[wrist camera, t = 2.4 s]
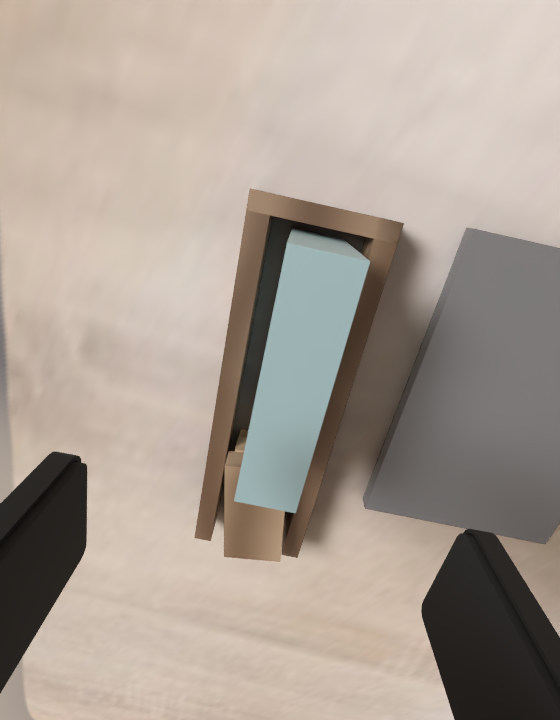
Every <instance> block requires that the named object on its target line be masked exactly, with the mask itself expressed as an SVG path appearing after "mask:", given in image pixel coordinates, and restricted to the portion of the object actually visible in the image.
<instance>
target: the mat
mask: <svg viewBox="0 0 560 720" xmlns="http://www.w3.org/2000/svg"><path fill="white" fill-rule="evenodd" d="M363 502H364V507H365V509H370V510H375V511H380V512H385V513H390V514H395V515H400V516H405V517H410V518H415V519H420V520H425V521H430V522H436V523H441V524H446V525H451V526H456V527H461V528H466V529H474V530H480V531H485V532H491V533H493V534H496V535H501V536H506V537H511V538H516V539H521V540H526V541H531V542H536V543H541V544H546V542H547V541H548V540H549V538H550V537H551V535H552V534H553V532H554V531H555V529H556V528H557V526H558V525H559V523H560V248H556V247H552V246H547V245H543V244H539V243H534V242H530V241H525V240H521V239H517V238H512V237H508V236H503V235H499V234H494V233H490V232H486V231H481V230H477V229H471V228H466V231H465V233H464V236H463V238H462V241H461V244H460V246H459V249H458V251H457V254H456V257H455V259H454V262H453V264H452V267H451V270H450V272H449V275H448V278H447V280H446V283H445V285H444V288H443V291H442V293H441V296H440V298H439V301H438V304H437V306H436V309H435V311H434V314H433V317H432V319H431V322H430V325H429V327H428V330H427V332H426V335H425V338H424V340H423V343H422V345H421V348H420V351H419V353H418V356H417V358H416V361H415V364H414V366H413V369H412V372H411V374H410V377H409V379H408V382H407V385H406V387H405V390H404V392H403V395H402V398H401V400H400V403H399V405H398V408H397V411H396V413H395V416H394V419H393V421H392V424H391V426H390V429H389V432H388V434H387V437H386V439H385V442H384V445H383V447H382V450H381V452H380V455H379V458H378V460H377V463H376V466H375V468H374V471H373V473H372V476H371V479H370V481H369V484H368V486H367V489H366V492H365V494H364V497H363Z"/></svg>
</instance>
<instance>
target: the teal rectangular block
mask: <svg viewBox="0 0 560 720" xmlns="http://www.w3.org/2000/svg"><path fill="white" fill-rule="evenodd" d="M369 264H370V261H369V260H368V259H367V258H366V257H364V256H363V255H362V254H361V253H359V252H358V251H357V250H356V249H355V248H353V247H352V246H351V245H350V244H348V243H347V242H346V241H345V240H344V239H340V238H335V237H331V236H326V235H322V234H317V233H313V232H308V231H304V230H299V229H295V228H292V230H291V233H290V236H289V238H288V241H287V245H286V250H285V255H284V260H283V264H282V269H281V274H280V279H279V284H278V289H277V294H276V299H275V304H274V308H273V313H272V318H271V323H270V328H269V333H268V338H267V343H266V347H265V352H264V357H263V362H262V367H261V372H260V377H259V382H258V386H257V391H256V396H255V401H254V406H253V411H252V416H251V421H250V425H249V430H248V435H247V440H246V445H245V450H244V455H243V460H242V464H241V469H240V474H239V479H238V484H237V489H236V494H235V499H234V501H236V502H241V503H246V504H251V505H256V506H261V507H266V508H271V509H276V510H281V511H286V512H291V513H296V511H297V507H298V504H299V501H300V497H301V494H302V490H303V487H304V484H305V480H306V477H307V474H308V470H309V467H310V463H311V460H312V457H313V453H314V450H315V446H316V443H317V440H318V436H319V433H320V430H321V426H322V423H323V419H324V416H325V413H326V409H327V406H328V403H329V399H330V396H331V392H332V389H333V386H334V382H335V379H336V376H337V372H338V369H339V365H340V362H341V359H342V355H343V352H344V348H345V345H346V342H347V338H348V335H349V332H350V328H351V325H352V321H353V318H354V315H355V311H356V308H357V305H358V301H359V298H360V294H361V291H362V288H363V284H364V281H365V278H366V274H367V271H368V267H369Z"/></svg>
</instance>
